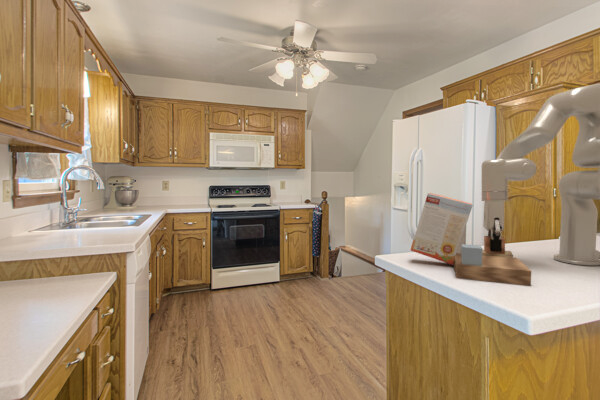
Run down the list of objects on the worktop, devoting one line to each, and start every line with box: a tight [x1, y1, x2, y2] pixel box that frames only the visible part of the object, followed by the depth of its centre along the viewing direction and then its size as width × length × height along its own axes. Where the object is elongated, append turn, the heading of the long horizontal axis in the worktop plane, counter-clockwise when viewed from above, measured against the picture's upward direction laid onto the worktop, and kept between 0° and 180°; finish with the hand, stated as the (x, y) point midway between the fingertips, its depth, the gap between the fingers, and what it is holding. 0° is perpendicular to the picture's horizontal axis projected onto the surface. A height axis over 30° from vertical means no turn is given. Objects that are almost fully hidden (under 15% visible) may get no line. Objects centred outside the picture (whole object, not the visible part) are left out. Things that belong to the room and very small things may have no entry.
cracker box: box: [410, 192, 474, 266], centre depth 107 cm, size 14×6×21 cm, turn 63°
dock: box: [453, 253, 532, 287], centre depth 96 cm, size 18×16×4 cm
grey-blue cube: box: [461, 243, 484, 266], centre depth 93 cm, size 5×5×5 cm
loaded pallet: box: [482, 235, 514, 258], centre depth 108 cm, size 10×6×7 cm, turn 64°
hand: (494, 249), depth 108 cm, fingers closed on loaded pallet, 5 cm apart
